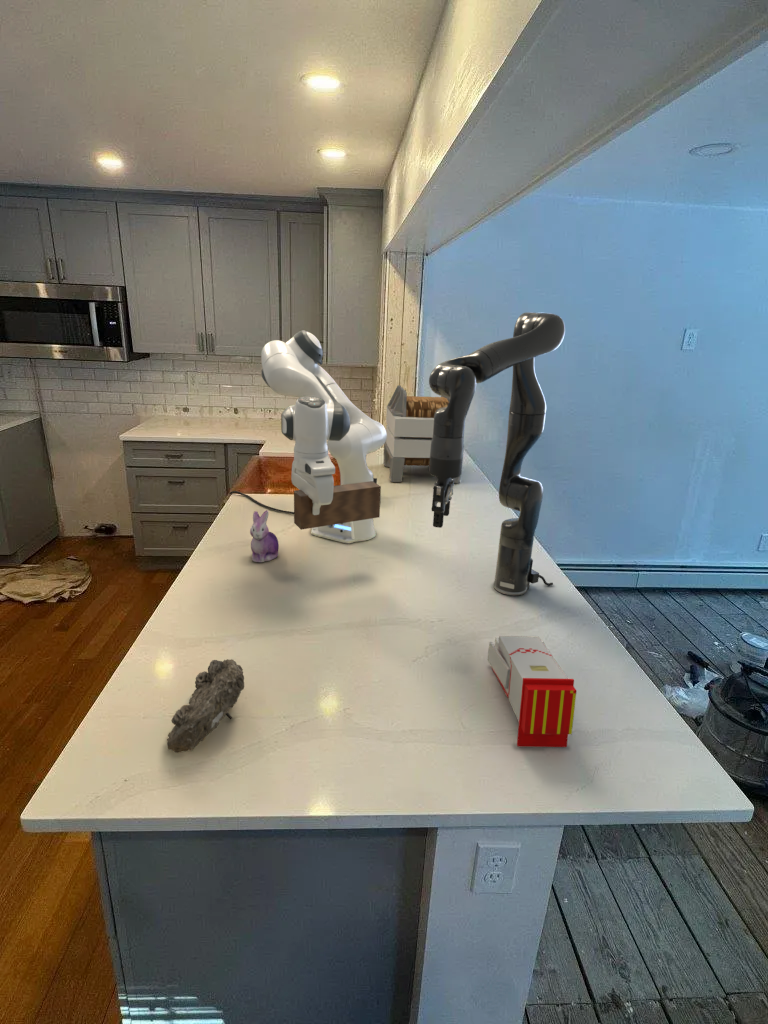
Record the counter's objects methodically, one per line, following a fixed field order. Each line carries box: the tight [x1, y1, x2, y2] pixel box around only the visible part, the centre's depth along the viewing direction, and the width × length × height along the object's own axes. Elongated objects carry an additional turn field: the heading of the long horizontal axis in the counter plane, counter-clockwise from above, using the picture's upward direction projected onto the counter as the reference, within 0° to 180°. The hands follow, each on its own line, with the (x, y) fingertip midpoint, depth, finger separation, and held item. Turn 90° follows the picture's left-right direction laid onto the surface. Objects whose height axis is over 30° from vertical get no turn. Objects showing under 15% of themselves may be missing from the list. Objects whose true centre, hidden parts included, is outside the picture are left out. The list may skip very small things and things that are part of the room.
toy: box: [486, 635, 577, 748], centre depth 115 cm, size 12×13×30 cm
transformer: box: [383, 384, 461, 484], centre depth 268 cm, size 34×33×41 cm
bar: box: [293, 481, 382, 530], centre depth 156 cm, size 24×5×9 cm, turn 120°
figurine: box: [249, 509, 280, 563], centre depth 174 cm, size 9×10×15 cm
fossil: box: [166, 658, 245, 754], centre depth 106 cm, size 22×10×15 cm
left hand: (310, 510), depth 153 cm, fingers closed on bar, 5 cm apart
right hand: (441, 520), depth 135 cm, fingers open, 8 cm apart
